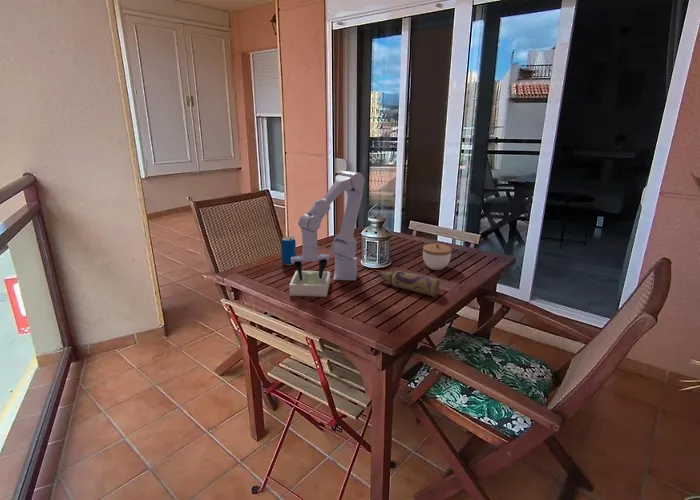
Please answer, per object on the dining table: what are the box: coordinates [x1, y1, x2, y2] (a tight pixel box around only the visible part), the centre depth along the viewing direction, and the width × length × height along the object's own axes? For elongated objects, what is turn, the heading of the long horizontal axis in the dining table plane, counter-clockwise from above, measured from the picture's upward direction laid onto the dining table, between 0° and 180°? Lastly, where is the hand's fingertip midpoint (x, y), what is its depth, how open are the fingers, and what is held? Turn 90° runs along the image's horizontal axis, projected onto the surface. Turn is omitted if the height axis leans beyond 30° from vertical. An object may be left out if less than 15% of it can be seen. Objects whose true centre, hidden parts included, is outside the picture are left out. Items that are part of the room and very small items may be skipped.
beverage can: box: [280, 236, 297, 266], centre depth 181 cm, size 6×6×12 cm
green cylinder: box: [305, 270, 316, 285], centre depth 156 cm, size 4×4×6 cm
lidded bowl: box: [422, 242, 453, 271], centre depth 179 cm, size 13×13×11 cm
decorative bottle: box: [377, 270, 441, 298], centre depth 158 cm, size 26×8×7 cm, turn 56°
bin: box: [289, 270, 331, 298], centre depth 156 cm, size 14×14×5 cm
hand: (310, 278), depth 156 cm, fingers open, 7 cm apart
